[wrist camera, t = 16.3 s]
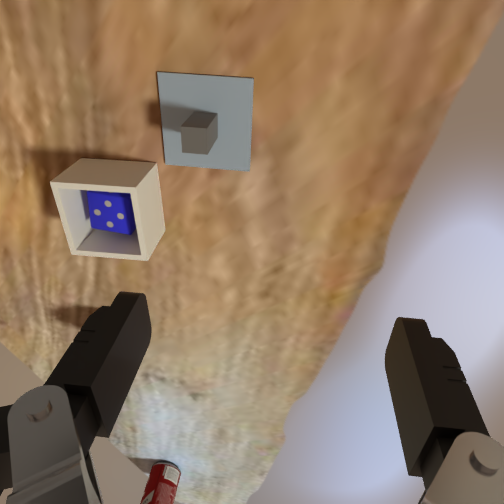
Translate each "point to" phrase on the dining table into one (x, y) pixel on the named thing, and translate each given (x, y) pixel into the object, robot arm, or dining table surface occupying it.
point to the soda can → (161, 484)
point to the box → (110, 180)
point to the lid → (206, 120)
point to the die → (111, 211)
